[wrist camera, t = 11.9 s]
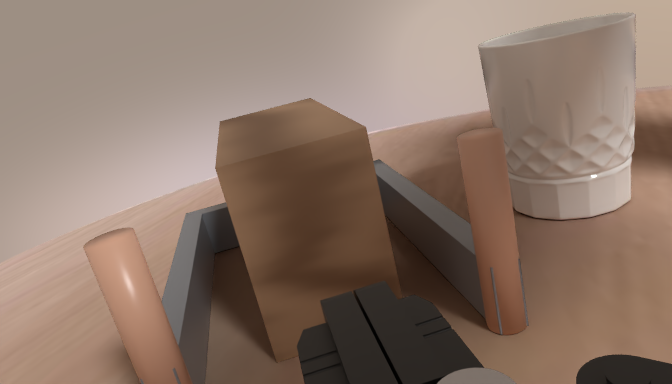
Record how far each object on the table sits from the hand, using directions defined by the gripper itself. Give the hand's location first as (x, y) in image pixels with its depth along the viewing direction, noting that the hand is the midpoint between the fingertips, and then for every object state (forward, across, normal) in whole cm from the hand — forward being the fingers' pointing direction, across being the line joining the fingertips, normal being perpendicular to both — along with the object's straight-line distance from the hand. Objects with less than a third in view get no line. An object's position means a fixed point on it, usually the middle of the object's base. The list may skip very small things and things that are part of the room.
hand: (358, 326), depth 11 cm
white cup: (+16, -16, +7) cm, 24 cm away
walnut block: (+16, 0, +6) cm, 18 cm away
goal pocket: (+15, 0, +6) cm, 17 cm away
